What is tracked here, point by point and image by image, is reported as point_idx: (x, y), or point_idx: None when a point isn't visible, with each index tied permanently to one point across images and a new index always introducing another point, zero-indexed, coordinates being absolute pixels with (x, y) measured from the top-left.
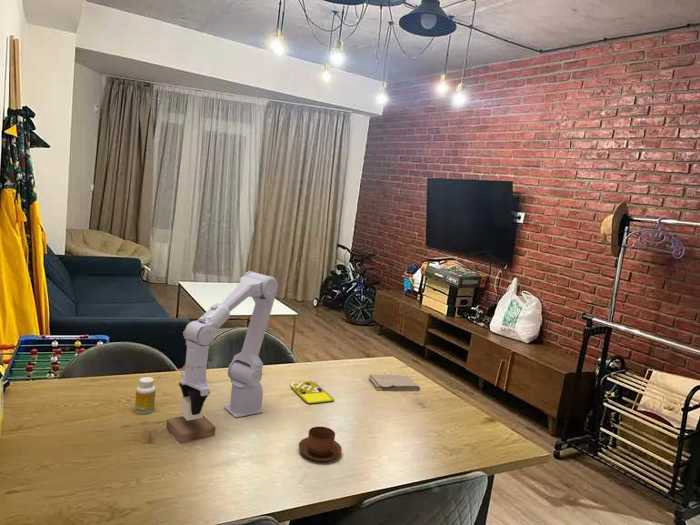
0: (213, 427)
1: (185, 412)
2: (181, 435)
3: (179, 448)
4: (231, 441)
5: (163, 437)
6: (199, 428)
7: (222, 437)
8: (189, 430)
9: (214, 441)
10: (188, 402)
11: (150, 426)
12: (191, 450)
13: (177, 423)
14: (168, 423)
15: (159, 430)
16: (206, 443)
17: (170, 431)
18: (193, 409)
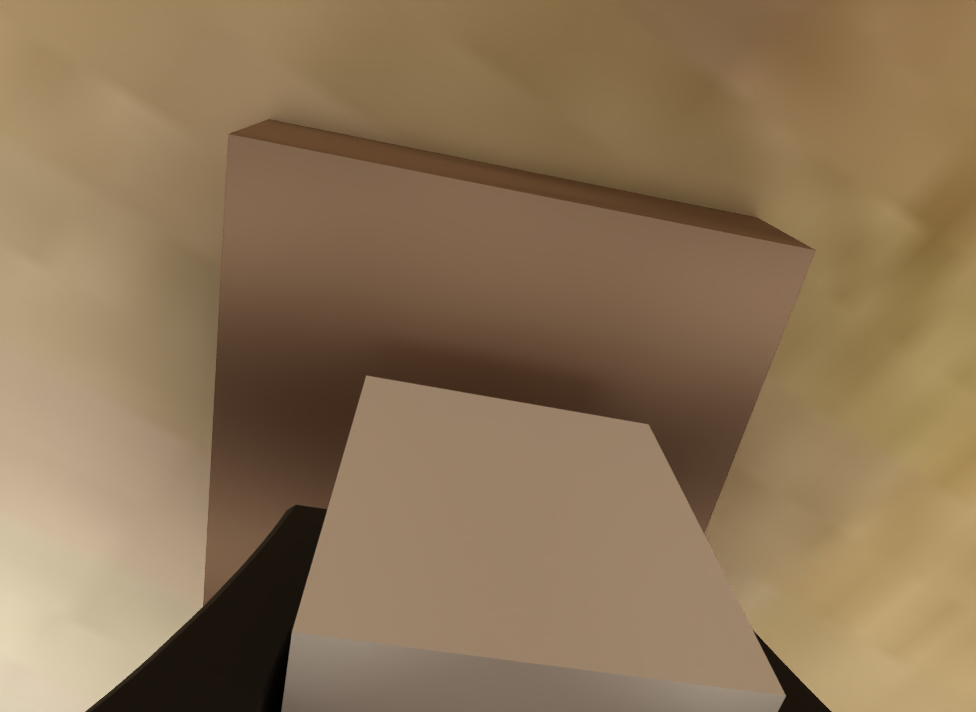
0: (207, 594)
1: (470, 453)
2: (234, 144)
3: (146, 31)
4: (31, 596)
5: (556, 26)
6: (272, 454)
7: (158, 575)
8: (289, 316)
9: (113, 471)
10: (368, 661)
11: (946, 58)
12: (19, 136)
13: (591, 297)
14: (734, 226)
15: (761, 97)
16: (110, 381)
17: (621, 192)
18: (235, 591)
